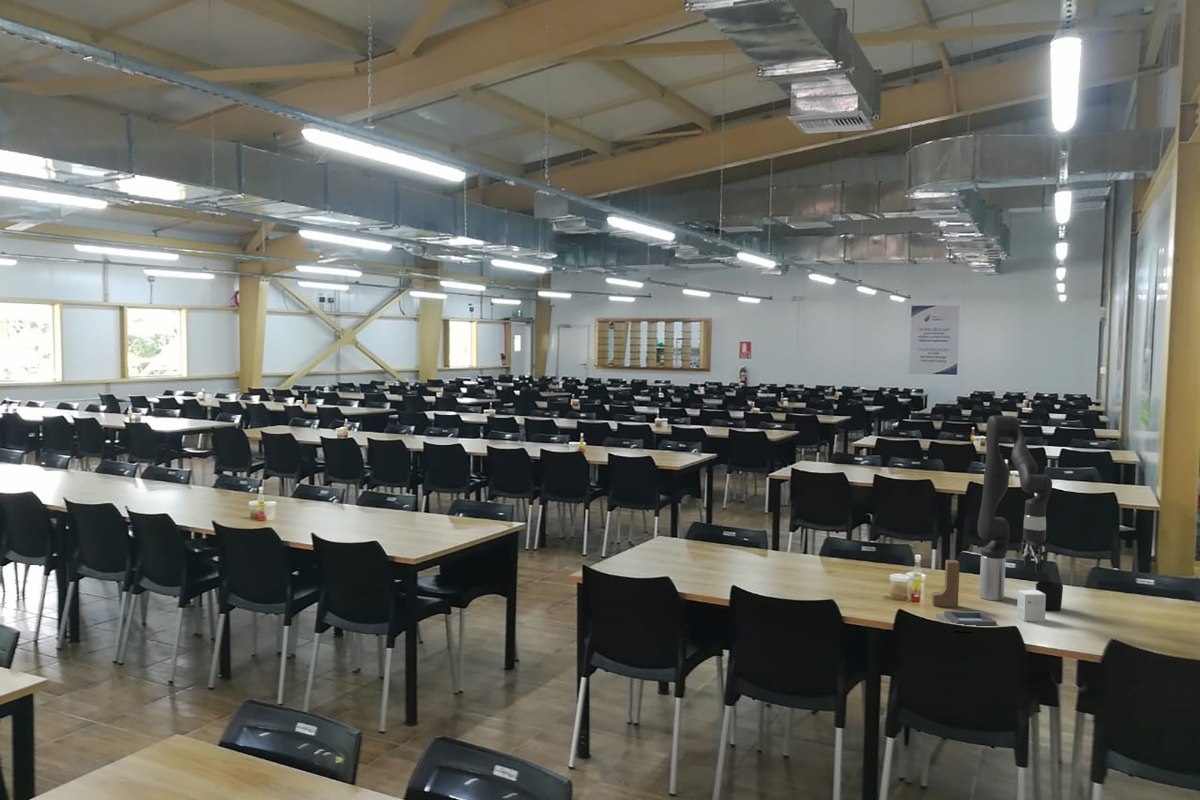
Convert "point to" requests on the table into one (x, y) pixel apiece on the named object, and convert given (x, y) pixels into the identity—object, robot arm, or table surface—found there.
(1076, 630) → the table surface
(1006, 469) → the robot arm
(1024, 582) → the table surface
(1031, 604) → the small box
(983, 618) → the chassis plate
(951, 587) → the wooden block
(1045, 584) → the pen holder
